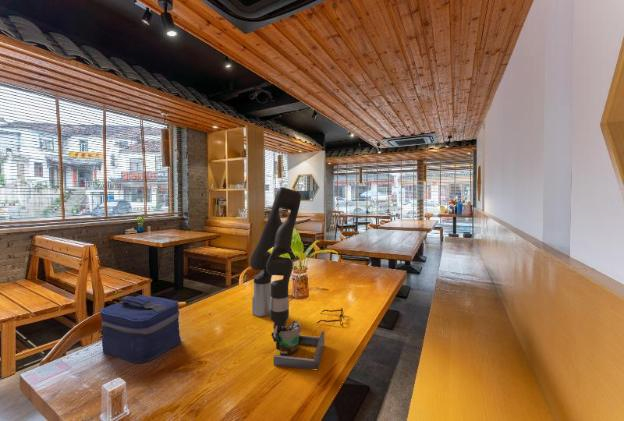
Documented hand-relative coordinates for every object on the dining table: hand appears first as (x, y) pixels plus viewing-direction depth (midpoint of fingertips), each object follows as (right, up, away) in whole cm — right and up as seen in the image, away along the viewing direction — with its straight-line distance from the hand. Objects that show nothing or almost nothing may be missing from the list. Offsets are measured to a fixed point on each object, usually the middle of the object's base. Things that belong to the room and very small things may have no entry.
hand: (279, 349), depth 112 cm
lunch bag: (-58, -1, +5) cm, 58 cm away
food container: (+5, -2, +1) cm, 6 cm away
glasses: (+23, -1, +31) cm, 38 cm away
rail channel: (+9, -2, -1) cm, 9 cm away
